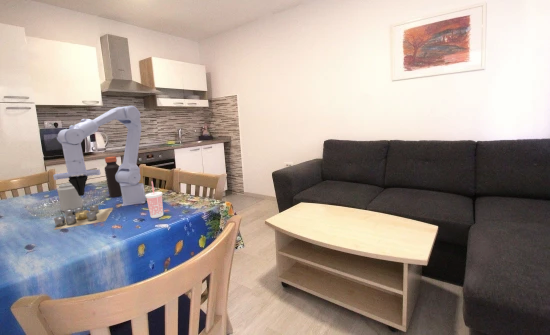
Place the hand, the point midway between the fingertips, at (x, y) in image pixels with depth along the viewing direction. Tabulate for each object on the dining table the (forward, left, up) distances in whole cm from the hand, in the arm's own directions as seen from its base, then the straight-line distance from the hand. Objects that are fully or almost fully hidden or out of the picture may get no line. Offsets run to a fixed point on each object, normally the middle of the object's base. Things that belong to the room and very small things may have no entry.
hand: (81, 195), depth 103 cm
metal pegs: (+2, 0, -9) cm, 10 cm away
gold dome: (+1, 0, -9) cm, 9 cm away
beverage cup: (-26, +11, -10) cm, 30 cm away
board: (0, 0, -10) cm, 10 cm away
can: (+9, -17, -10) cm, 22 cm away
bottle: (-6, -33, -10) cm, 35 cm away
